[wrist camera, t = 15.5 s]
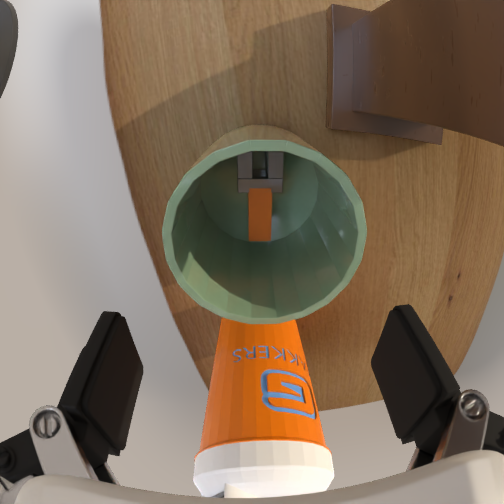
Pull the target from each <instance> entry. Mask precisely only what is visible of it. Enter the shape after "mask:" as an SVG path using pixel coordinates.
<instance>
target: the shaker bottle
mask: <svg viewBox="0 0 504 504" xmlns="http://www.w3.org/2000/svg"><path fill="white" fill-rule="evenodd" d="M333 478H334V469H333V463H332V457H331V451H330V450H329V448H328V447H326V444H325V440H324V435H323V430H322V426H321V422H320V418H319V414H318V409H317V405H316V401H315V396H314V392H313V388H312V384H311V380H310V376H309V372H308V368H307V364H306V360H305V356H304V352H303V348H302V344H301V340H300V336H299V332H298V328H297V324H296V320H291V321H287V322H283V323H280V324H278V323H277V324H246V323H242V322H238V321H234V320H230V319H226V318H223V317H222V319H221V324H220V330H219V336H218V342H217V347H216V353H215V359H214V365H213V371H212V377H211V383H210V389H209V395H208V401H207V407H206V413H205V420H204V426H203V432H202V439H201V446H200V451H199V452H198V453H197V455H196V456H195V467H194V478H193V482H194V484H195V485H196V487H197V488H198V490H199V491H200V492H201V497H212V498H264V497H280V496H291V495H301V494H309V493H316V492H323V491H326V490H327V488H328V487H329V485H330V483H331V481H332V480H333Z"/></svg>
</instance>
